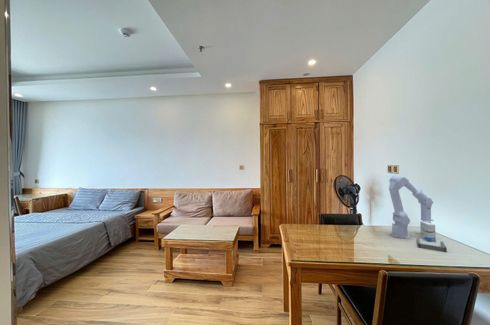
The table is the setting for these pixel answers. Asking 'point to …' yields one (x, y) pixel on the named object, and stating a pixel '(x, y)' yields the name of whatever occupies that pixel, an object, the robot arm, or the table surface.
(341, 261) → the table surface
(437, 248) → the bay
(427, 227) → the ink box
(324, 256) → the table surface
